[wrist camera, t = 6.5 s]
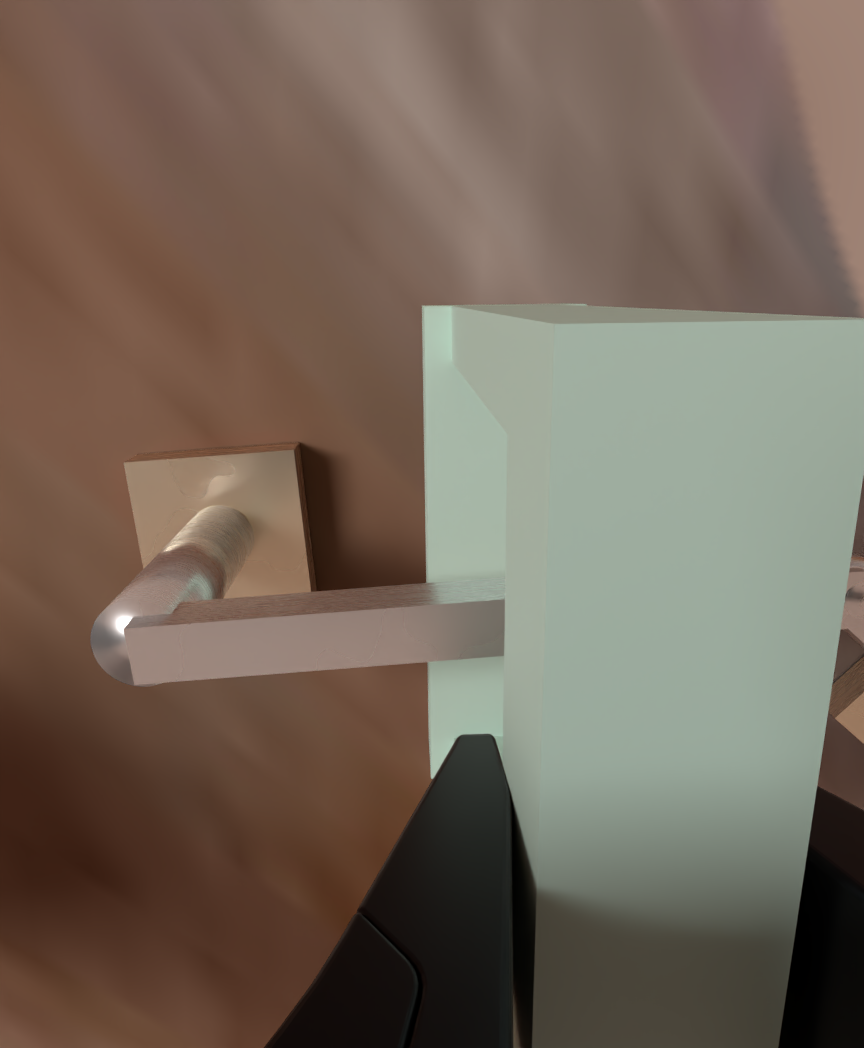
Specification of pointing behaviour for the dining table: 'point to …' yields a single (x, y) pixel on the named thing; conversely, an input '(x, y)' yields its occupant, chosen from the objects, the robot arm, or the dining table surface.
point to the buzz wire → (297, 587)
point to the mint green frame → (647, 641)
